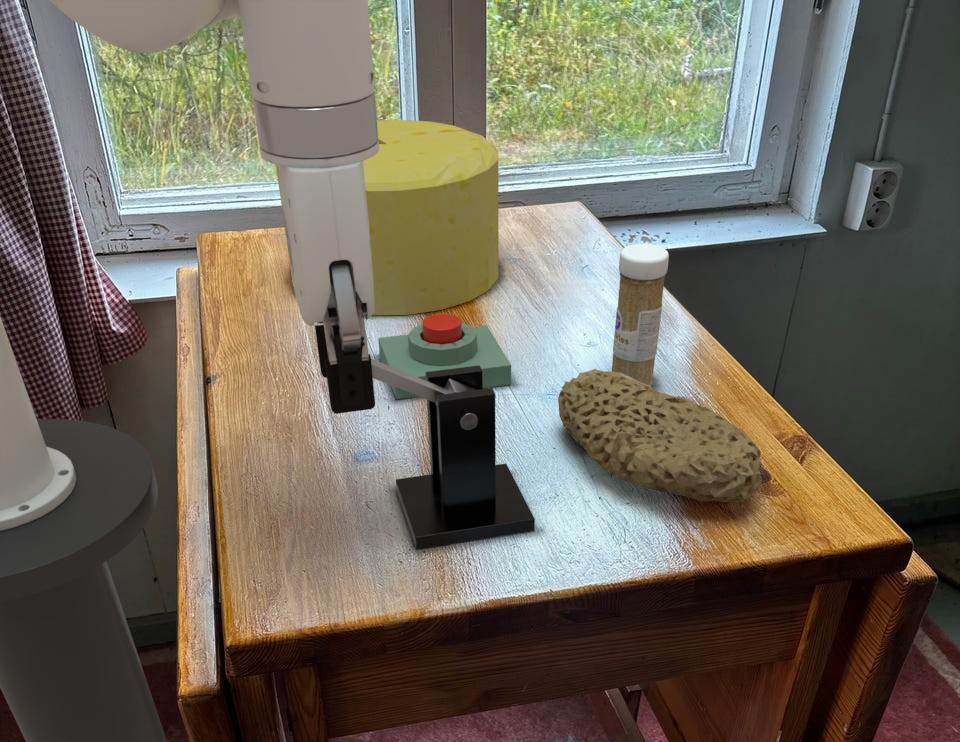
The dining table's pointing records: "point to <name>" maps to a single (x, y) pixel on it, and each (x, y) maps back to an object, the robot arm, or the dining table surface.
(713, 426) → the sponge
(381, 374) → the lever
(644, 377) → the sprinkles bottle
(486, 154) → the cheese
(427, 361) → the button box
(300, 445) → the dining table surface
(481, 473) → the bracket
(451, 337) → the button
